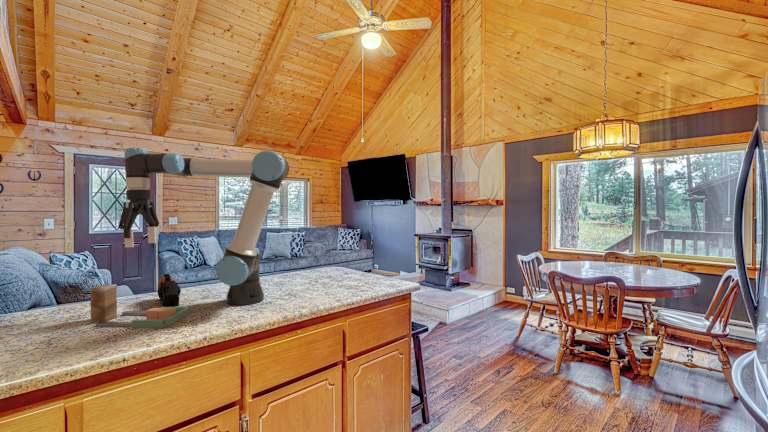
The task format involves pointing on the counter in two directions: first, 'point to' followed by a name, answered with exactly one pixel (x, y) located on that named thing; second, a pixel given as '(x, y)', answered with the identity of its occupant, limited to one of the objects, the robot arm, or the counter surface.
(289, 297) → the counter surface
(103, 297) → the light brown tall block
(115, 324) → the slot rails
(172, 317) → the green u-shaped frame
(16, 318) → the counter surface
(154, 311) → the orange cubic piece
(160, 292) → the tool
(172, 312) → the orange cube piece
